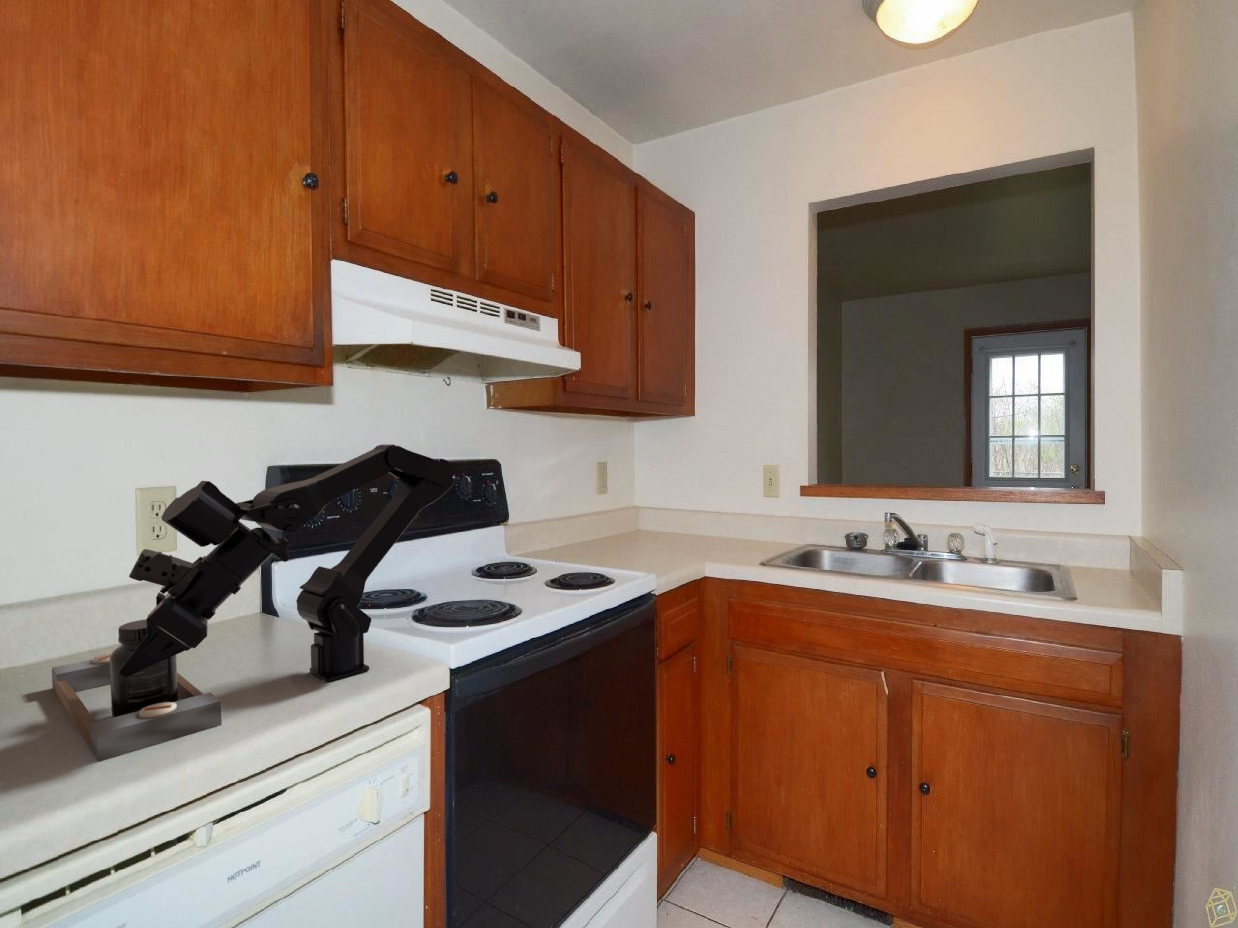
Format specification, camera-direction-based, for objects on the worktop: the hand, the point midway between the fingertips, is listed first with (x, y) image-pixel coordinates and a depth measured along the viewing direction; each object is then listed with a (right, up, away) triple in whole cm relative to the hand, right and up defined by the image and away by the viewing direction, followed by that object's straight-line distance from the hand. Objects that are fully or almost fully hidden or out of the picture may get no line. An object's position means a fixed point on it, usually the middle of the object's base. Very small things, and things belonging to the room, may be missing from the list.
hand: (127, 663), depth 80 cm
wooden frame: (-3, -7, +5) cm, 9 cm away
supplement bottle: (+1, -8, +2) cm, 8 cm away
